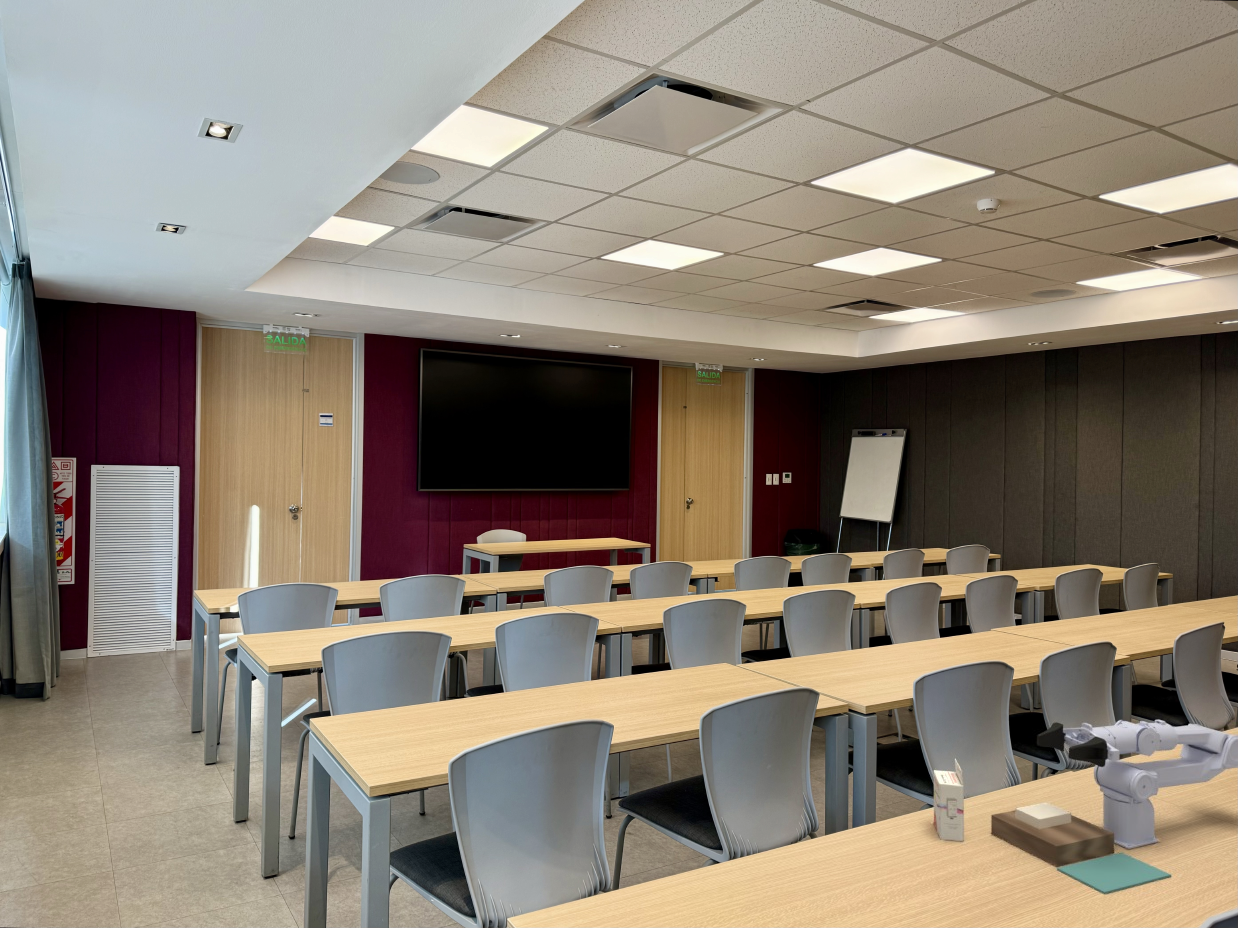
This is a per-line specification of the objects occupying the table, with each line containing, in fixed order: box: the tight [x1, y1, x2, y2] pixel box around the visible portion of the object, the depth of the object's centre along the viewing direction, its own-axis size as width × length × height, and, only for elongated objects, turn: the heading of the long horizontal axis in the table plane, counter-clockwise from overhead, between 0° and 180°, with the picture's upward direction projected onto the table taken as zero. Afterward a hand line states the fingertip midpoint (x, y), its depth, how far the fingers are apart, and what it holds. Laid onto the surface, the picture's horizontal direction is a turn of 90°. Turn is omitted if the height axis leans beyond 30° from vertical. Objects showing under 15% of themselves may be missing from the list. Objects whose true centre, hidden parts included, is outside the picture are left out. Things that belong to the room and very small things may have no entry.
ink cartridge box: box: [933, 758, 965, 842], centre depth 177 cm, size 9×5×15 cm, turn 168°
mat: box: [1056, 852, 1172, 895], centre depth 159 cm, size 18×10×1 cm, turn 112°
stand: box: [990, 809, 1115, 868], centre depth 172 cm, size 16×16×4 cm
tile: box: [1014, 801, 1072, 829], centre depth 174 cm, size 9×6×2 cm, turn 112°
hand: (1053, 746), depth 168 cm, fingers open, 7 cm apart
